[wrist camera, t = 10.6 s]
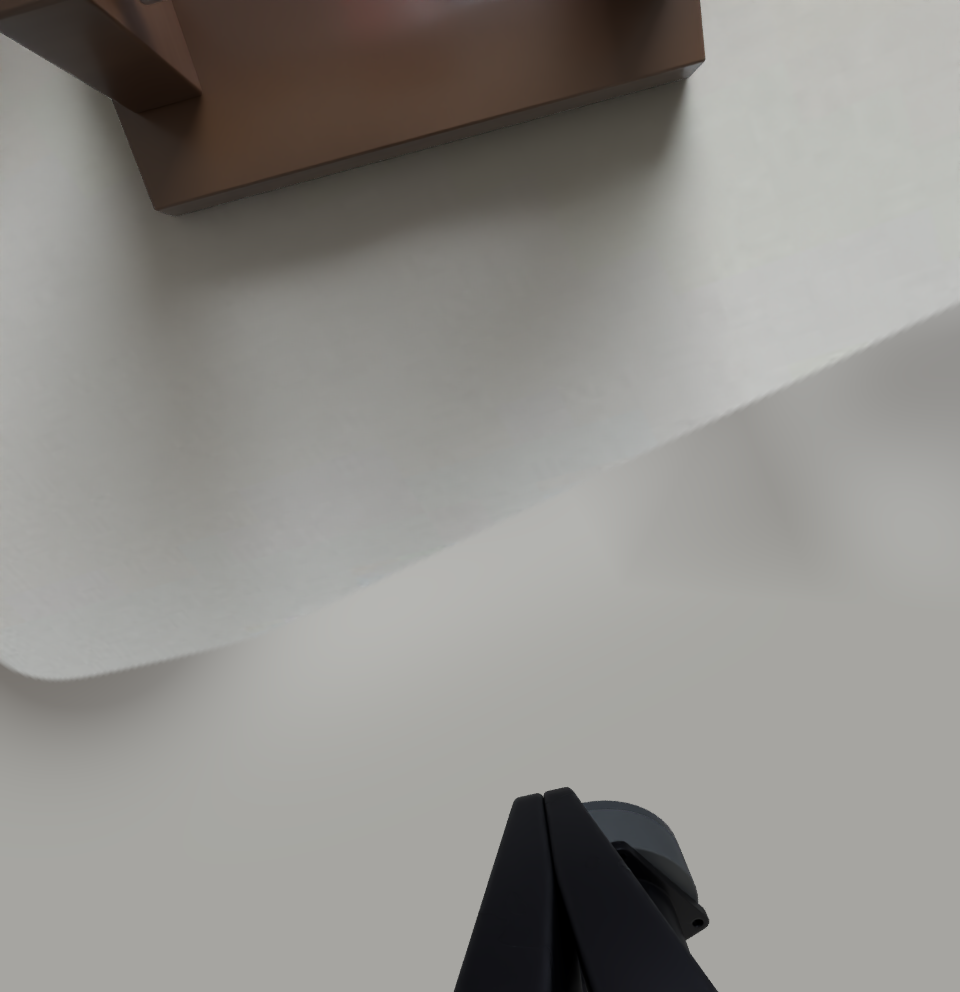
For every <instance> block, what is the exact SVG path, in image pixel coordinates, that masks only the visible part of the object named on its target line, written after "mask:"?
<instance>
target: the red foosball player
mask: <svg viewBox="0 0 960 992" xmlns="http://www.w3.org/2000/svg"><path fill="white" fill-rule="evenodd" d="M139 1H140V2H141V3H143V4H145V5H151V4H154V3H158V2H161V1H164V0H139Z"/></svg>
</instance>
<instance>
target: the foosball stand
mask: <svg viewBox="0 0 960 992" xmlns="http://www.w3.org/2000/svg"><path fill="white" fill-rule="evenodd" d="M0 33H2V34H4V35H5V36H7V37H9V38H10V39H12V40H14V41H15V42H17V43H19V44H20V45H22V46H24V47H25V48H27V49H29V50H30V51H32V52H34V53H35V54H37V55H39V56H40V57H42V58H44V59H45V60H47V61H49V62H50V63H52V64H54V65H55V66H57V67H59V68H60V69H62V70H64V71H65V72H67V73H69V74H70V75H72V76H74V77H75V78H77V79H79V80H80V81H82V82H84V83H86V84H87V85H89V86H91V87H92V88H94V89H96V90H97V91H99V92H101V93H102V94H104V95H106V96H107V97H109V98H111V99H112V102H113V104H114V107H115V109H116V112H117V114H118V117H119V120H120V122H121V125H122V127H123V130H124V132H125V135H126V138H127V140H128V143H129V145H130V148H131V150H132V153H133V156H134V158H135V161H136V163H137V166H138V168H139V171H140V174H141V176H142V179H143V181H144V184H145V186H146V189H147V192H148V194H149V197H150V199H151V202H152V204H153V207H154V209H155V210H156V211H159V212H162V213H165V214H168V215H171V216H175V217H176V216H180V215H183V214H187V213H191V212H194V211H198V210H202V209H205V208H209V207H213V206H216V205H220V204H224V203H228V202H231V201H235V200H239V199H242V198H246V197H250V196H253V195H257V194H261V193H264V192H268V191H272V190H276V189H279V188H283V187H287V186H290V185H294V184H298V183H301V182H305V181H309V180H312V179H316V178H320V177H323V176H327V175H331V174H335V173H338V172H342V171H346V170H349V169H353V168H357V167H360V166H364V165H368V164H371V163H375V162H379V161H383V160H386V159H390V158H394V157H397V156H401V155H405V154H408V153H412V152H416V151H419V150H423V149H427V148H430V147H434V146H438V145H442V144H445V143H449V142H453V141H456V140H460V139H464V138H467V137H471V136H475V135H478V134H482V133H486V132H490V131H493V130H497V129H501V128H504V127H508V126H512V125H515V124H519V123H523V122H526V121H530V120H534V119H537V118H541V117H545V116H549V115H552V114H556V113H560V112H563V111H567V110H571V109H574V108H578V107H582V106H585V105H589V104H593V103H597V102H600V101H604V100H608V99H611V98H615V97H619V96H622V95H626V94H630V93H633V92H637V91H641V90H644V89H648V88H652V87H656V86H659V85H663V84H667V83H670V82H674V81H678V80H681V79H685V78H688V77H690V76H691V75H692V74H693V73H694V72H695V71H696V69H697V68H698V67H699V66H700V65H701V64H702V63H703V62H704V61H705V51H704V40H703V29H702V18H701V7H700V0H164V1H161V2H158V3H154V4H151V5H145V4H143V3H141V2H140V1H139V0H0Z"/></svg>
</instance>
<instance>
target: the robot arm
mask: <svg viewBox="0 0 960 992" xmlns="http://www.w3.org/2000/svg"><path fill="white" fill-rule="evenodd" d="M708 924H709V919H708V916H707V914H706V912H705V910H704V909H703V907H701V906H700V905H699V904H698V903H697V902H696V901H695V900H693V899H692V898H691V897H690V896H689V895H687V894H686V893H685V892H684V891H683V890H682V889H680V888H679V887H678V886H677V885H676V884H675V883H673V882H672V881H671V880H670V879H669V878H668V877H666V876H665V875H664V874H663V873H662V872H661V871H659V870H658V869H657V868H656V867H655V866H654V865H652V864H651V863H650V862H649V861H648V860H647V859H645V858H644V857H643V856H642V855H641V854H640V853H638V852H637V851H636V850H635V849H634V848H633V847H631V846H630V845H629V844H628V843H626V842H625V841H620V840H619V841H614V842H612V843H610V841H609V840H608V839H607V837H606V836H605V834H604V833H603V832H602V830H601V829H600V828H599V826H598V825H597V823H596V822H595V821H594V819H593V818H592V816H591V815H590V814H589V812H588V811H587V810H586V808H585V807H584V805H583V804H582V803H581V801H580V800H579V798H578V797H577V796H576V794H575V793H574V792H573V790H572V789H570V788H568V787H564V788H559V789H555V790H551V791H547V792H545V793H544V797H543V796H542V795H541V794H539V793H536V794H532V795H527V796H522V797H518V798H517V799H515V801H514V803H513V805H512V808H511V811H510V814H509V818H508V821H507V824H506V827H505V830H504V834H503V837H502V840H501V843H500V846H499V849H498V853H497V856H496V859H495V862H494V865H493V869H492V872H491V875H490V878H489V881H488V885H487V888H486V891H485V894H484V898H483V900H482V904H481V907H480V910H479V913H478V917H477V920H476V923H475V926H474V929H473V933H472V935H471V939H470V942H469V945H468V948H467V951H466V955H465V958H464V961H463V964H462V967H461V970H460V974H459V977H458V980H457V983H456V987H455V990H454V992H718V991H717V990H716V988H715V987H714V986H713V984H712V983H711V981H710V980H709V979H708V977H707V976H706V975H705V973H704V972H703V970H702V969H701V968H700V966H699V965H698V963H697V962H696V961H695V959H694V958H693V957H692V955H691V954H690V952H689V948H688V946H687V943H686V940H687V939H689V938H690V937H692V936H693V935H695V934H697V933H698V932H700V931H701V930H703V929H705V928H706V927H707V926H708Z"/></svg>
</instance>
